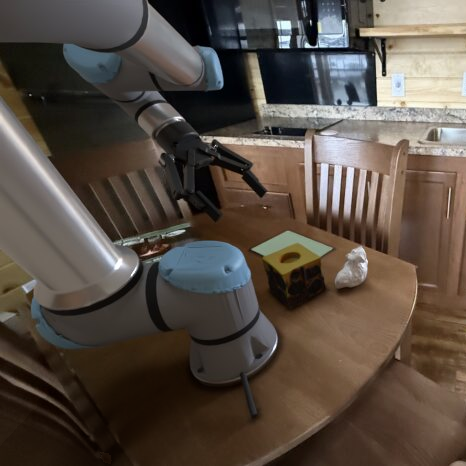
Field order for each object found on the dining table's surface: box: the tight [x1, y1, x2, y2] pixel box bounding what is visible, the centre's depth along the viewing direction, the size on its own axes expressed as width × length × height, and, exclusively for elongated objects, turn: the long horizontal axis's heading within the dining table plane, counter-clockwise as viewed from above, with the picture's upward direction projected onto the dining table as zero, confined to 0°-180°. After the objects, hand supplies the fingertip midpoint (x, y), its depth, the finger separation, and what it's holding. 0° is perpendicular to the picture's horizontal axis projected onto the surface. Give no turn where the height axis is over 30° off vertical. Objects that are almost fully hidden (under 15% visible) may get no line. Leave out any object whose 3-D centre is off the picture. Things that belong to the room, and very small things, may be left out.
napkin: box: [250, 230, 334, 258], centre depth 94 cm, size 20×14×1 cm
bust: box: [334, 245, 369, 290], centre depth 79 cm, size 12×8×11 cm
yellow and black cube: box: [261, 243, 327, 309], centre depth 76 cm, size 10×10×10 cm
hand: (243, 205), depth 71 cm, fingers open, 13 cm apart
